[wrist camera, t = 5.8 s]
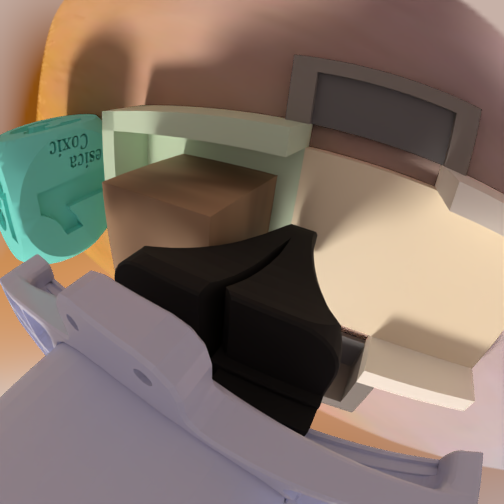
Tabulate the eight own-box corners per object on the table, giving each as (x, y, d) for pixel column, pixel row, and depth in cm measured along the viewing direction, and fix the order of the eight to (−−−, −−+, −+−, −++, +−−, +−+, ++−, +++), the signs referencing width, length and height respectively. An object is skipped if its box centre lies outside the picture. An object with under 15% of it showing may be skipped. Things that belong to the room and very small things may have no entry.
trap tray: (570, 171, 5) (604, 191, 3) (437, 395, 14) (434, 433, 11) (147, 58, 12) (104, 58, 9) (153, 284, 20) (126, 307, 18)
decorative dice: (127, 227, 19) (37, 283, 12) (73, 201, 21) (0, 239, 15) (124, 114, 14) (4, 147, 8) (66, 113, 17) (-20, 141, 10)
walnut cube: (277, 175, 11) (210, 217, 8) (261, 270, 14) (207, 336, 10) (183, 153, 13) (102, 182, 9) (182, 239, 16) (118, 285, 12)
